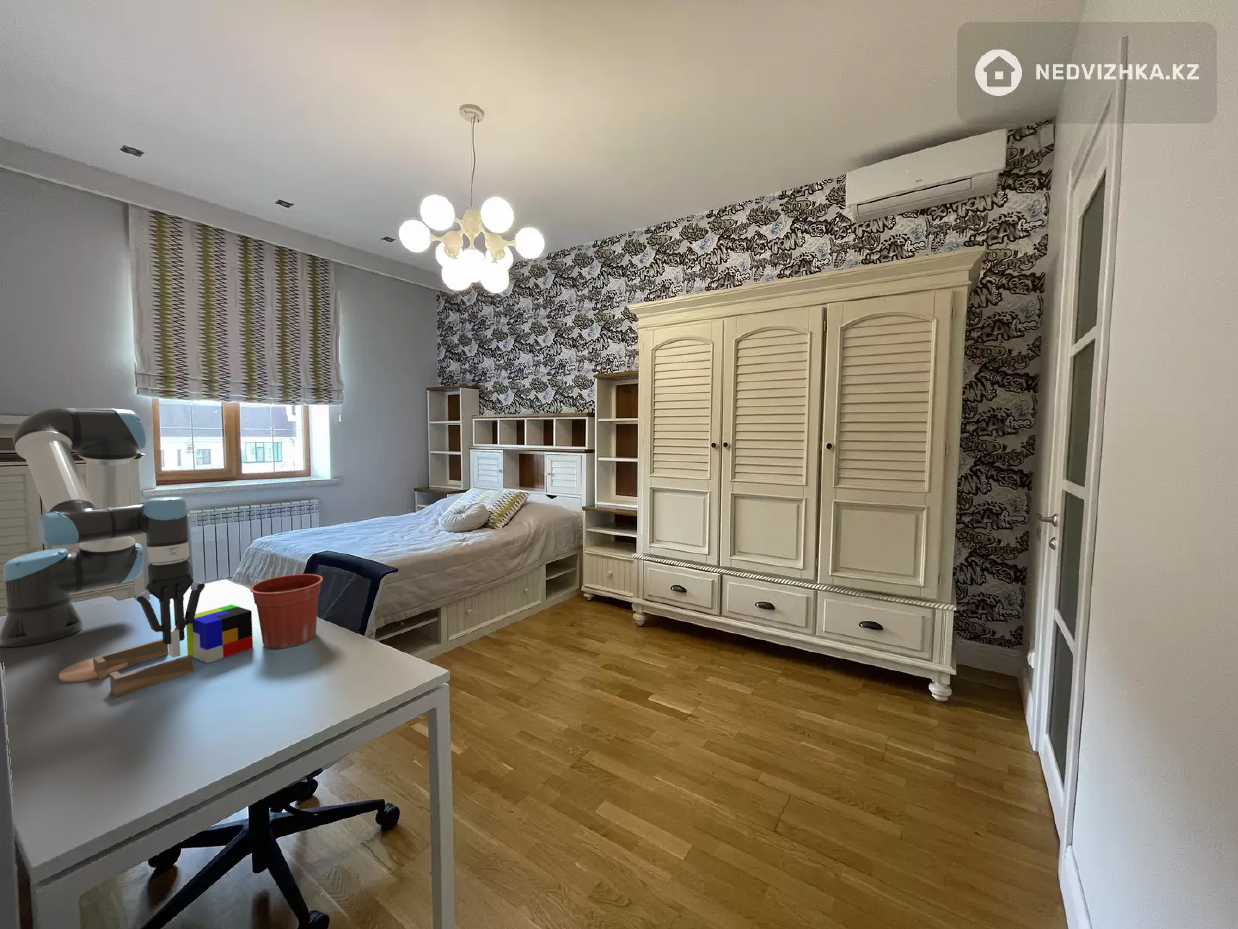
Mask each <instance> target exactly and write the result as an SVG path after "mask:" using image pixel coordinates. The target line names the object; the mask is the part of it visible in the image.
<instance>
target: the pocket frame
mask: <svg viewBox="0 0 1238 929" xmlns="http://www.w3.org/2000/svg"><path fill="white" fill-rule="evenodd" d="M165 655H166V656H167V655H169V644H168V645H165V644H164V643H163V638H160V639H156V640H152V641H150V642H145V643H143V644H138V645H134V646H132V647H131V646H130V647H128V648H124V649H121V650H116V651H112V652H109V653H105V654H102V655H98V656H95V657H92V658H93V665H94V671H95V672H96V673H97V674H98V678H97V679H98V680H103V679H105V678H108V675H107V671H106V668H109V667H112V666H116V665H119V664H122V663H126V662H128V666H127V667H130V666H131V665H133V666H134V665H136V664H138V663H143V662H147V661H149V660H153V659H156V658H160V657H163V656H165ZM194 672H195V671H194V657H193V656H192V655H188V654H187V655H185V656H181V657H179V658H177V657H176V658H173V659H172V660H168V661H165V662H161V663H158V664H155V665H152V666H149V667H145V668H142V669H139V670H136V671H132V672H128V673H125V674H121V673H120V672H119V671H117V672H113V673H110V674H109V684H110V692H111V693H113V695H115V697H116V698H119V697H122V696H124V695H128V694H130V693H134V692H137V691H140V690H143V689H146V688H149V687H152V686H155V685H158V684H161V683H164V682H167V681H170V680H173V679H176V678H179V677H182V676H186V675H189V674H191V673H194Z"/></svg>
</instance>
